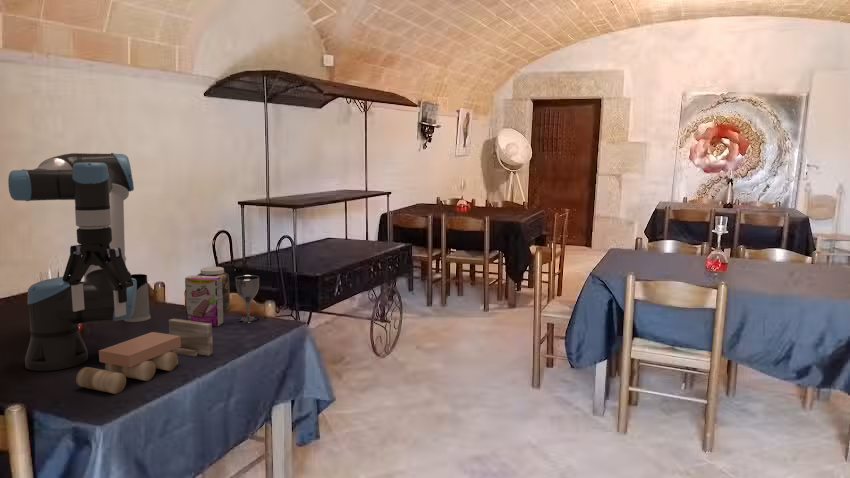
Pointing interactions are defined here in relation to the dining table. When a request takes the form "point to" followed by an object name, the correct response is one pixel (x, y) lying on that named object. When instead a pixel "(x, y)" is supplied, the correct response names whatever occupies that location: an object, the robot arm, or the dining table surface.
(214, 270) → the jar
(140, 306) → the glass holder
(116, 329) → the dining table surface
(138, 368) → the roller rack
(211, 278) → the candy bar box
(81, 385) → the roller loose
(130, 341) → the slab
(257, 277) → the wine glass
